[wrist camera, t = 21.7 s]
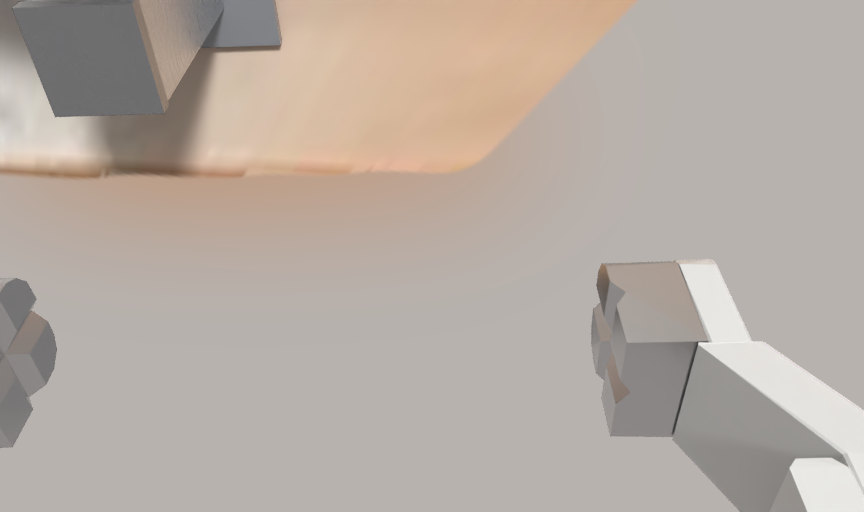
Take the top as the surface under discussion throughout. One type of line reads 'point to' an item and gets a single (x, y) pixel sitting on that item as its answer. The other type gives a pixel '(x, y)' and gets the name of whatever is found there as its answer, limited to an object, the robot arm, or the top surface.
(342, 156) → the top surface
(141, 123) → the top surface
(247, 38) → the slate coaster
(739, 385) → the robot arm
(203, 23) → the tea tin
